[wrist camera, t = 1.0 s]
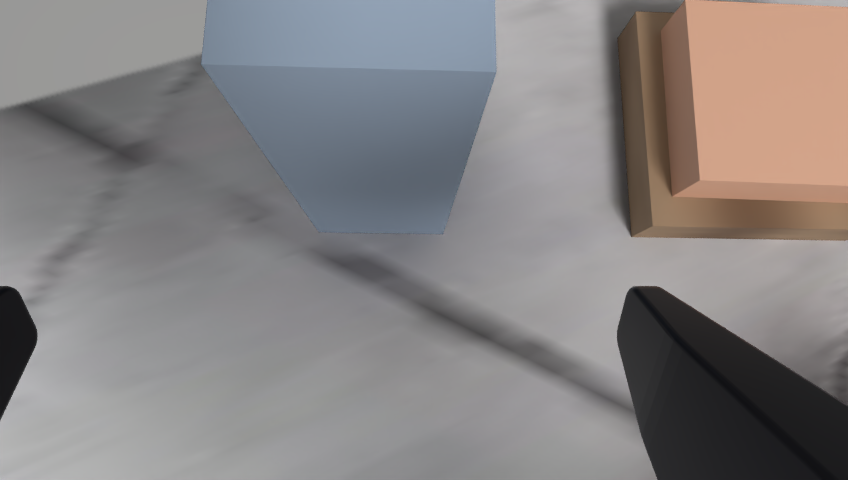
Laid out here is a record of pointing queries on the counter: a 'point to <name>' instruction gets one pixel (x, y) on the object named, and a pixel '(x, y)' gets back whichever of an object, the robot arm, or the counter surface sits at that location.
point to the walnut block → (651, 164)
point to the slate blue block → (358, 100)
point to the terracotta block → (757, 101)
